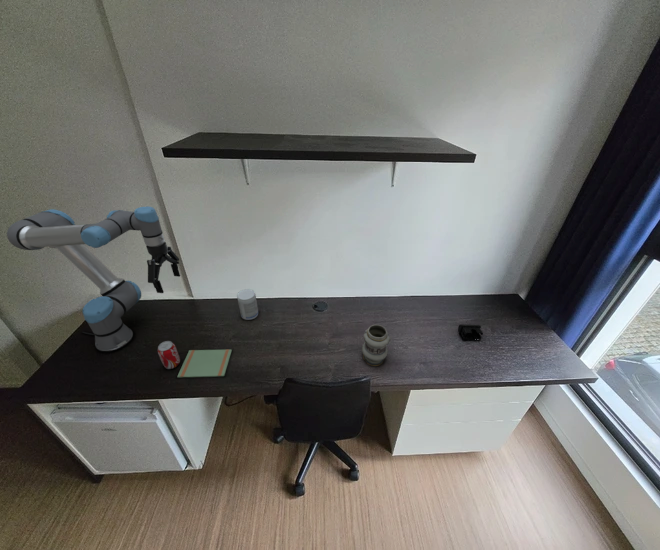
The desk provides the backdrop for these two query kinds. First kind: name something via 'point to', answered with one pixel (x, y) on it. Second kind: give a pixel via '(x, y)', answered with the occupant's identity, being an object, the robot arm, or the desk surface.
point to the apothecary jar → (375, 345)
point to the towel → (205, 363)
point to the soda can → (168, 354)
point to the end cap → (469, 332)
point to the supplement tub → (247, 304)
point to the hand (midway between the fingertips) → (169, 284)
